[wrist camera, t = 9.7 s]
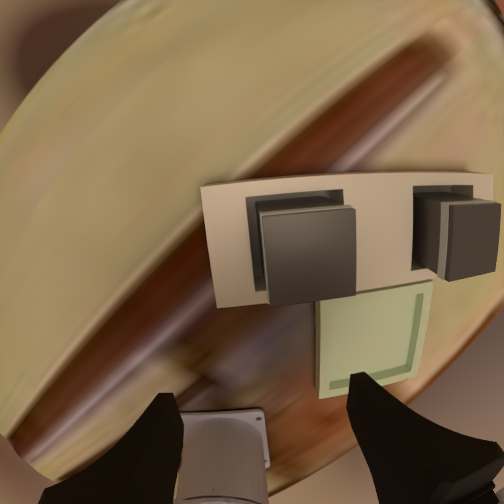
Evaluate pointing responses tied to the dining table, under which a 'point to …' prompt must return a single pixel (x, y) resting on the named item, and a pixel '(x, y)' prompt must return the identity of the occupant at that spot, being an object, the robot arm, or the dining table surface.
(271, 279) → the twin plug
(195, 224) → the dining table surface
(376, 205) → the strip
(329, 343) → the tray
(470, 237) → the plug
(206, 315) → the dining table surface
